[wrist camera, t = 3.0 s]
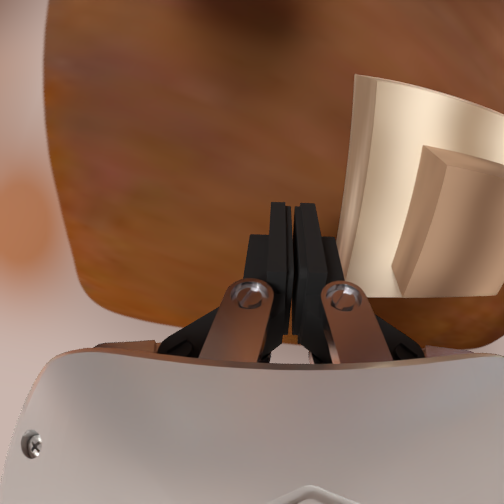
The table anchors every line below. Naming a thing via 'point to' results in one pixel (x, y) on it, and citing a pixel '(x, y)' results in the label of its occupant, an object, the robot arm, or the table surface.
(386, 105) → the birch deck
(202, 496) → the robot arm
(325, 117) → the table surface
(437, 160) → the walnut block
